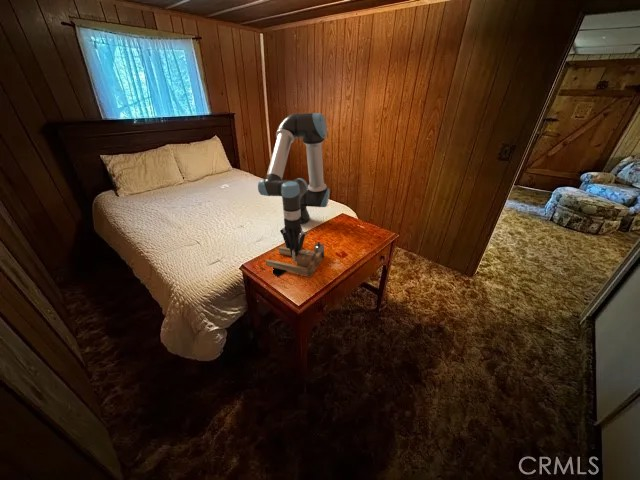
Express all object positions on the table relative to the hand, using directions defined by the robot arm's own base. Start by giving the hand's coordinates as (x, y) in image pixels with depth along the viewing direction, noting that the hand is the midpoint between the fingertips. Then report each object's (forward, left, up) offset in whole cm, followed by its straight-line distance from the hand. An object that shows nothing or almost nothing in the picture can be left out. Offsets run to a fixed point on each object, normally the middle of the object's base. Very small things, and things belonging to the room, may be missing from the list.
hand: (295, 260), depth 124 cm
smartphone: (+6, -9, -2) cm, 11 cm away
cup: (-12, -7, -2) cm, 14 cm away
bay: (0, -1, -2) cm, 2 cm away
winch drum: (-10, +9, -2) cm, 14 cm away
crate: (0, +6, -2) cm, 6 cm away
